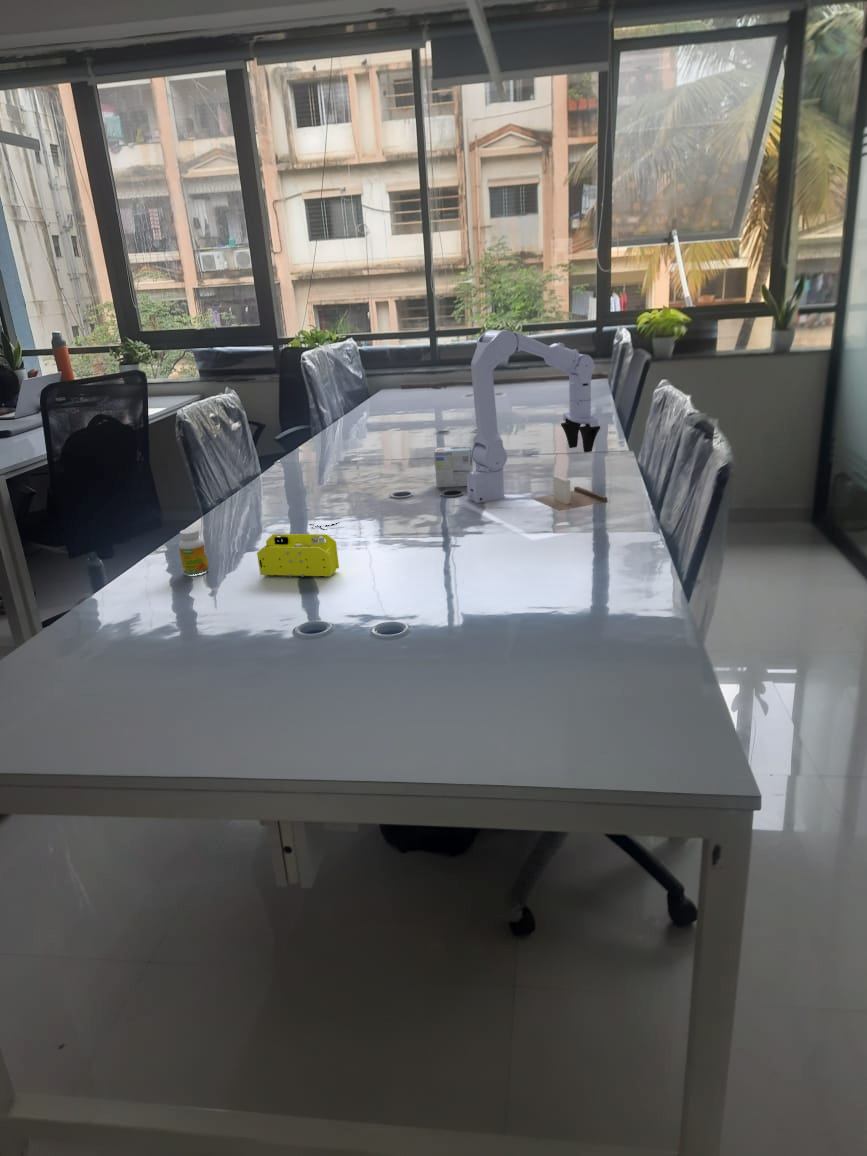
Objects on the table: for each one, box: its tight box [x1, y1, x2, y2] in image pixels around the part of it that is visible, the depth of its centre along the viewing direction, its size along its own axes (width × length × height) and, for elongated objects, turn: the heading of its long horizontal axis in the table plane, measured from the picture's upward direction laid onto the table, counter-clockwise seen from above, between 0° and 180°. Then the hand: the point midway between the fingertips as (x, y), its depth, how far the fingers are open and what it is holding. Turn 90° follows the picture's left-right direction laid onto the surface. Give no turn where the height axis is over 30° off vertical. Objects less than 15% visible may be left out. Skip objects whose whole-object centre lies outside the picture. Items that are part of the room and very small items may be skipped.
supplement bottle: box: [178, 527, 210, 575], centre depth 172 cm, size 5×5×10 cm
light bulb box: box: [433, 445, 474, 488], centre depth 232 cm, size 11×7×11 cm, turn 84°
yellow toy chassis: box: [256, 533, 340, 578], centre depth 167 cm, size 16×6×8 cm, turn 76°
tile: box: [552, 475, 571, 504], centre depth 202 cm, size 2×6×6 cm, turn 22°
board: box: [531, 486, 608, 511], centre depth 204 cm, size 14×14×2 cm
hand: (580, 449), depth 218 cm, fingers open, 7 cm apart
